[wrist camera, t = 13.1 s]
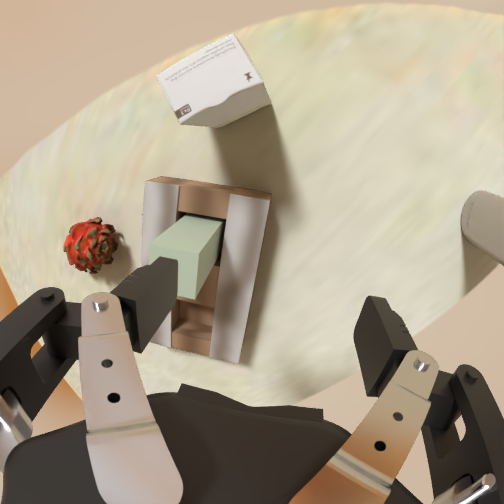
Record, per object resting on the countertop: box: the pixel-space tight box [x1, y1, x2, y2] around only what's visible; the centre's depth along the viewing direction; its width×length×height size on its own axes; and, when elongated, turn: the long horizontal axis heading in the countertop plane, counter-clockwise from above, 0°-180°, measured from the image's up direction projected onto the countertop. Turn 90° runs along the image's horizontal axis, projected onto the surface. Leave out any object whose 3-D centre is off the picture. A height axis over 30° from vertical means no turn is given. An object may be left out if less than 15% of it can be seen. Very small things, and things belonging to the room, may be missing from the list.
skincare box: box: [156, 34, 271, 128], centre depth 27 cm, size 8×6×15 cm
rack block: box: [142, 176, 271, 364], centre depth 40 cm, size 16×26×5 cm, turn 170°
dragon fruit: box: [64, 217, 118, 274], centre depth 40 cm, size 8×8×12 cm
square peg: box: [149, 213, 227, 300], centre depth 33 cm, size 5×5×14 cm
